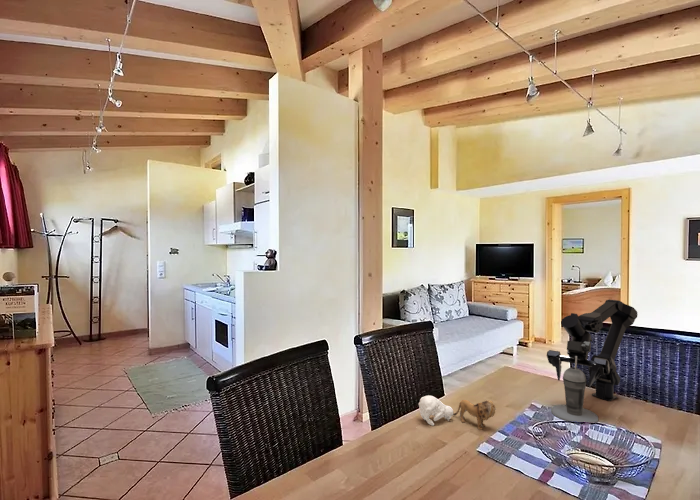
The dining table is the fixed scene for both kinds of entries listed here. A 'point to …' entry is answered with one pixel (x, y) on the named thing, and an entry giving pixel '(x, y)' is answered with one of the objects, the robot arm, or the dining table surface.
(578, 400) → the beverage cup
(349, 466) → the dining table surface
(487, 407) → the lion figurine
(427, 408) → the white rounded figure
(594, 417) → the coaster
